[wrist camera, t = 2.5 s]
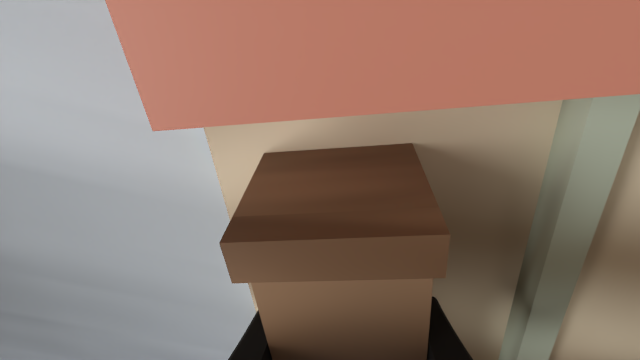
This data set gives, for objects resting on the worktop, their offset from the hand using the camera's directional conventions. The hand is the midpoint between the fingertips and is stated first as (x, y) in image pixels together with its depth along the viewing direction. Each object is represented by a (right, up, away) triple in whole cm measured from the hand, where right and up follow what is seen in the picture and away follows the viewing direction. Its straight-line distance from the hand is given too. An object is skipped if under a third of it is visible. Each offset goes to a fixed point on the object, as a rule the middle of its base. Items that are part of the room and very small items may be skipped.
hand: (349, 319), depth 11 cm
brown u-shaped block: (0, +1, +1) cm, 1 cm away
